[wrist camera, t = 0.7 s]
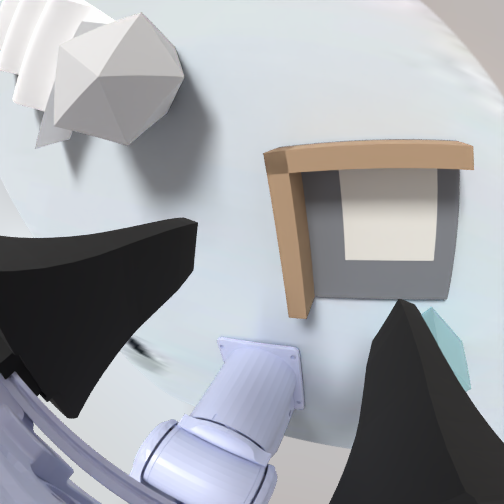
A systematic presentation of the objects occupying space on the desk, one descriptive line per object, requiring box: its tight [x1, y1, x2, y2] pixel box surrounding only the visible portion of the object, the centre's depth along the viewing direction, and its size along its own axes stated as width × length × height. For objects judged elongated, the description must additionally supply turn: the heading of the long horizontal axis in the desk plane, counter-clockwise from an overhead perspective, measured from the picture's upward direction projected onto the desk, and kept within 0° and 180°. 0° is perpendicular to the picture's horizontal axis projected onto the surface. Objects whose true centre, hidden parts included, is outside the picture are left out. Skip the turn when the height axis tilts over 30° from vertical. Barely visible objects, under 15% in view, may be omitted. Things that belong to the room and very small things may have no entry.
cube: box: [421, 307, 471, 392], centre depth 17 cm, size 5×5×5 cm
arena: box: [263, 139, 474, 319], centre depth 15 cm, size 10×11×3 cm
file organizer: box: [0, 0, 115, 149], centre depth 17 cm, size 13×35×5 cm, turn 47°
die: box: [54, 12, 184, 146], centre depth 14 cm, size 8×9×10 cm
